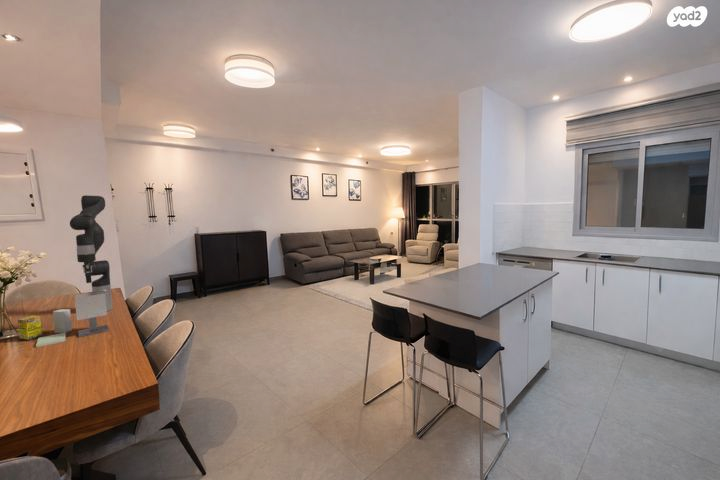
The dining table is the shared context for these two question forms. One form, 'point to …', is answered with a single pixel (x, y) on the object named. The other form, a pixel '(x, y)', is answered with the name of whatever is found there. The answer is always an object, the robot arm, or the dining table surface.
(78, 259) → the robot arm
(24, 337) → the supplement box
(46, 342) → the mat
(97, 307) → the block
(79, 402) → the dining table surface
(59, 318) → the skincare box
